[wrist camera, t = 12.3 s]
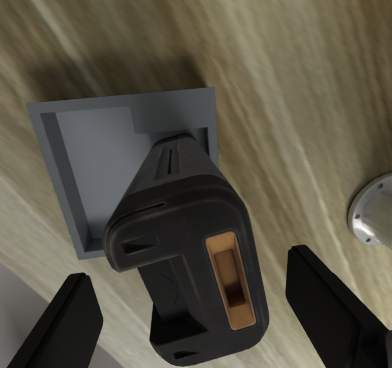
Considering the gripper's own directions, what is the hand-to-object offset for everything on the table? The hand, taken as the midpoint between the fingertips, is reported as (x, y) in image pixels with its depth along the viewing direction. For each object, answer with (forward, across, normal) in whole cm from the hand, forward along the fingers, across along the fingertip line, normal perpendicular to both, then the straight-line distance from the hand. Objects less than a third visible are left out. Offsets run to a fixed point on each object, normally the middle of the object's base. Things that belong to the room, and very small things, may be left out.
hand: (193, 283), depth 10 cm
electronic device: (+19, 0, 0) cm, 19 cm away
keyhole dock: (+20, +5, 0) cm, 21 cm away
